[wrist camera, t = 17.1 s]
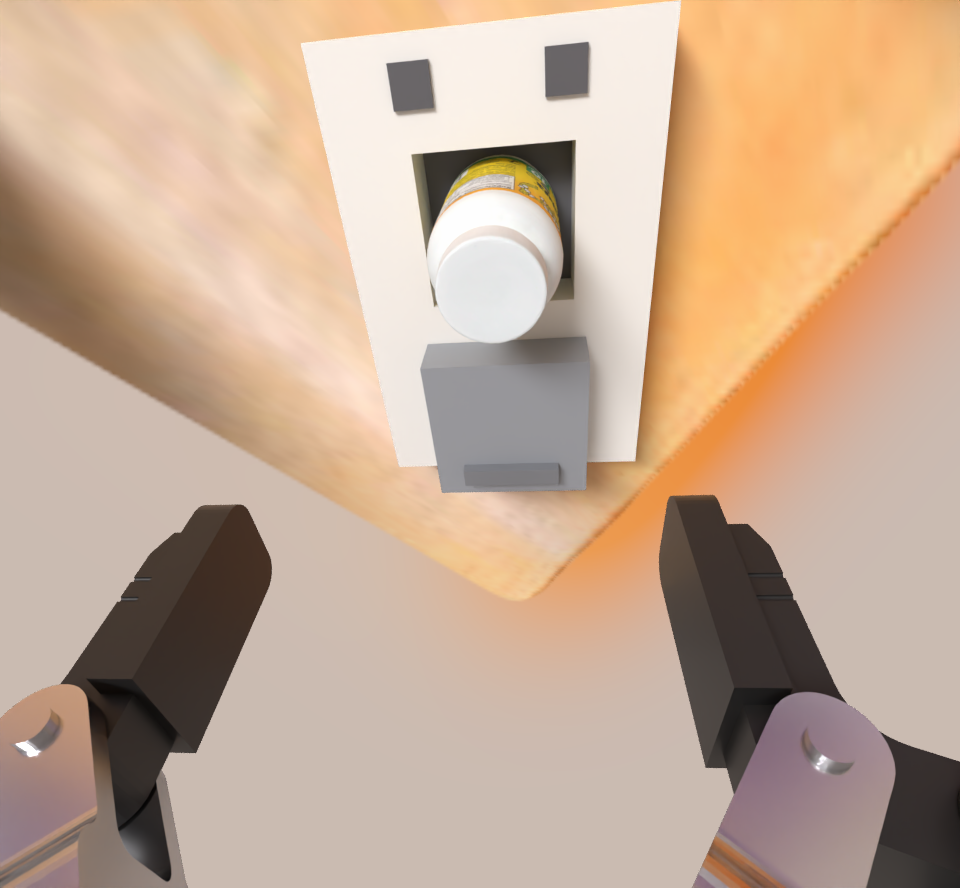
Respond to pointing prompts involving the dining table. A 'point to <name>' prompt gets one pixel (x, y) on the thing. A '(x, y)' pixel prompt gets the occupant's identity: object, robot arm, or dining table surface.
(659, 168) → the socket plate
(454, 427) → the block
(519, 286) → the supplement bottle
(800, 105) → the dining table surface
